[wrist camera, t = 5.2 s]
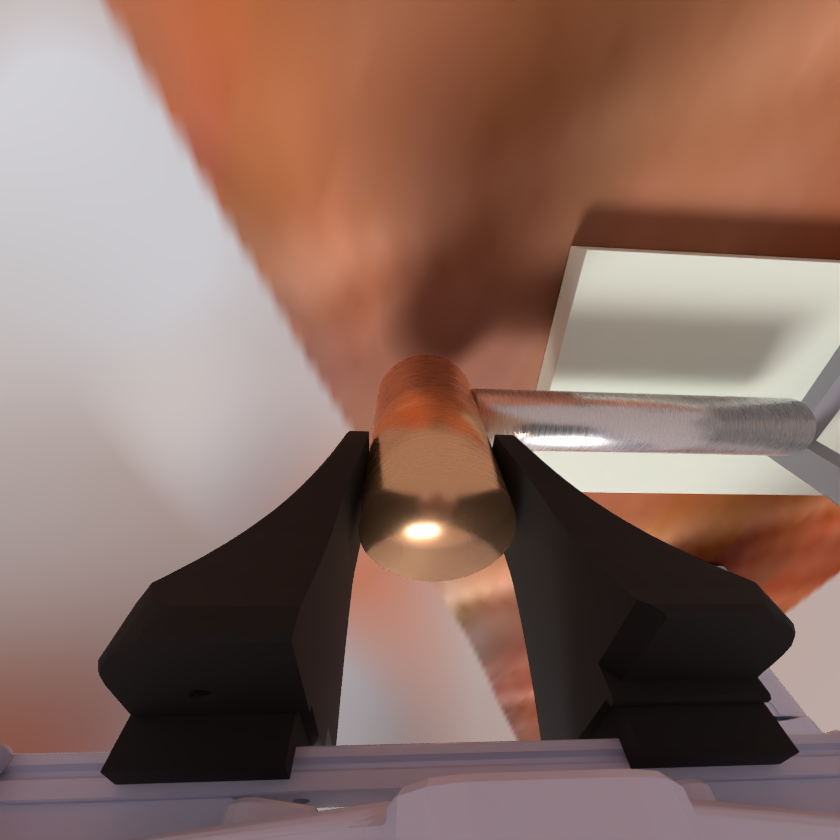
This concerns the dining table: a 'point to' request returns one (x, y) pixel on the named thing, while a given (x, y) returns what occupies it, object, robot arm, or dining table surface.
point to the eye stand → (700, 359)
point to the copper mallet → (540, 431)
